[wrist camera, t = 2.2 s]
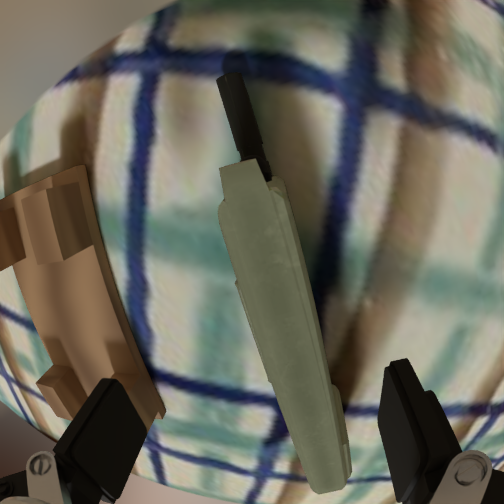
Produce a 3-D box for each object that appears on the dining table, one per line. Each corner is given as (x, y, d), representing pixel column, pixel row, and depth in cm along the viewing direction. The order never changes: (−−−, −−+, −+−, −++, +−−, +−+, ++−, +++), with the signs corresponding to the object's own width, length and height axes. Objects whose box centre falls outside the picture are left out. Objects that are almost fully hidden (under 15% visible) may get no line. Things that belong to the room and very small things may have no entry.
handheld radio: (303, 429, 21) (201, 91, 14) (343, 421, 21) (259, 73, 14) (306, 496, 15) (153, 54, 8) (354, 488, 14) (247, 21, 8)
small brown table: (85, 164, 16) (42, 171, 12) (166, 411, 22) (150, 445, 18) (4, 199, 18) (-31, 210, 14) (81, 398, 24) (62, 423, 20)
